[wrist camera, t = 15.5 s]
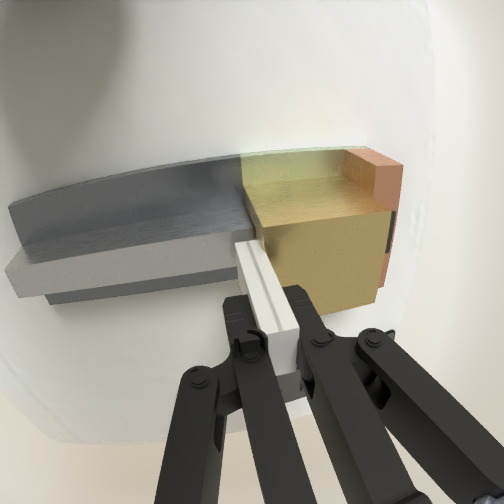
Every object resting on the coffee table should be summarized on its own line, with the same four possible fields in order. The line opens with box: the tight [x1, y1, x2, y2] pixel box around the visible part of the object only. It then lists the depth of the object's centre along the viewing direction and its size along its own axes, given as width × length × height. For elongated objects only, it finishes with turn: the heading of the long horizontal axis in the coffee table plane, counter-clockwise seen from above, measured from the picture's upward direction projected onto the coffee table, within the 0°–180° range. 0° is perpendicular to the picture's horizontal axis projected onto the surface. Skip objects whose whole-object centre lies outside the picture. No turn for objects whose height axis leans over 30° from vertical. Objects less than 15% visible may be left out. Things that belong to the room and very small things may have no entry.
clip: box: [243, 175, 392, 316], centre depth 19 cm, size 7×6×6 cm
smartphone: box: [276, 330, 395, 403], centre depth 33 cm, size 7×1×15 cm
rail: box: [5, 146, 403, 305], centre depth 19 cm, size 26×9×5 cm, turn 94°
